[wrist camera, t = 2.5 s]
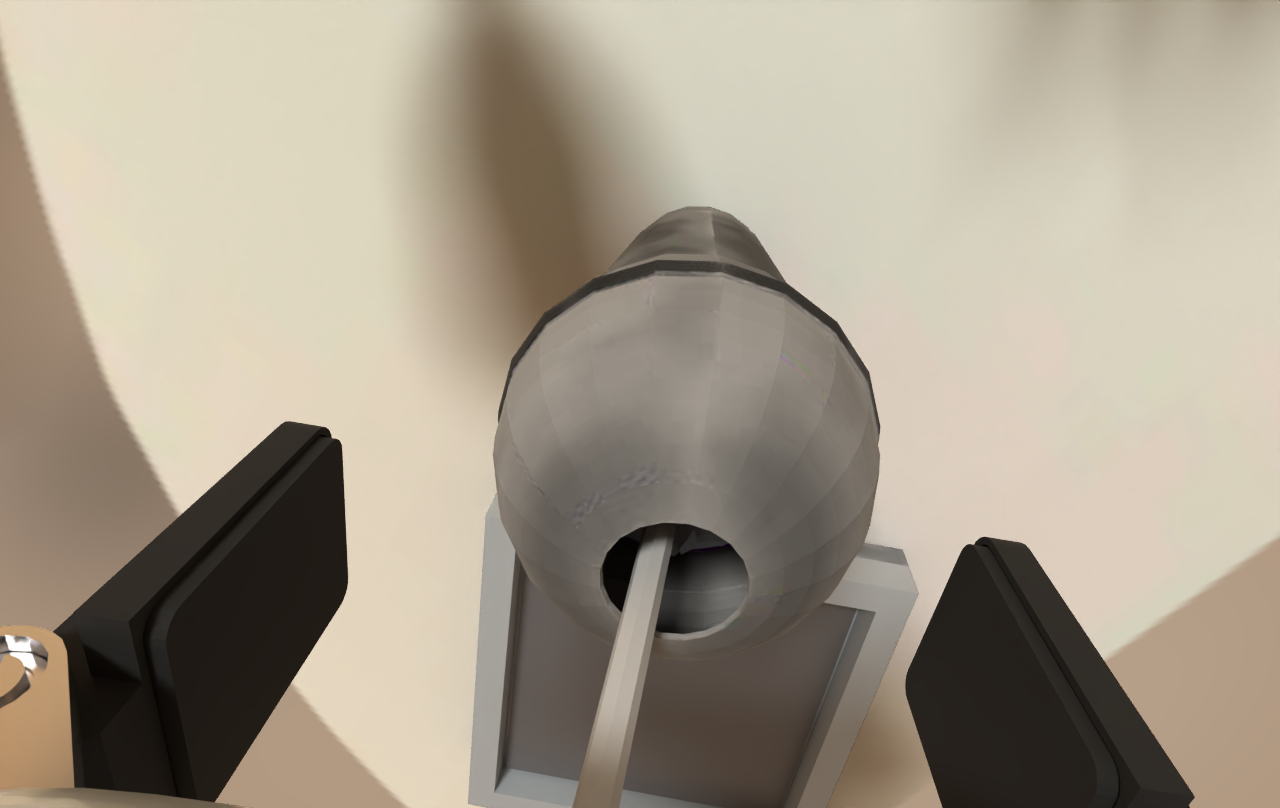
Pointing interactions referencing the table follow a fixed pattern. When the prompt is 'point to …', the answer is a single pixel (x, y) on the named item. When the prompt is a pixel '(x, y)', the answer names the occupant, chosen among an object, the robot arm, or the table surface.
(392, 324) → the table surface
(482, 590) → the tray
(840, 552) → the beverage cup
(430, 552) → the table surface
